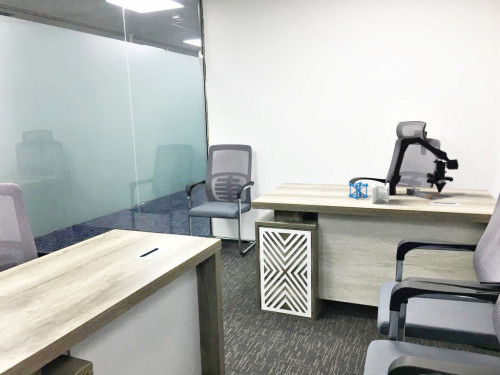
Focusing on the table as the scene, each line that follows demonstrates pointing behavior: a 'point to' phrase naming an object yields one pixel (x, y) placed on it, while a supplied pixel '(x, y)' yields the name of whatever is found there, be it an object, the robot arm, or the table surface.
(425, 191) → the tong arm
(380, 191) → the cable organizer
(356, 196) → the molecular structure
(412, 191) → the tong base
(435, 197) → the desk mat
